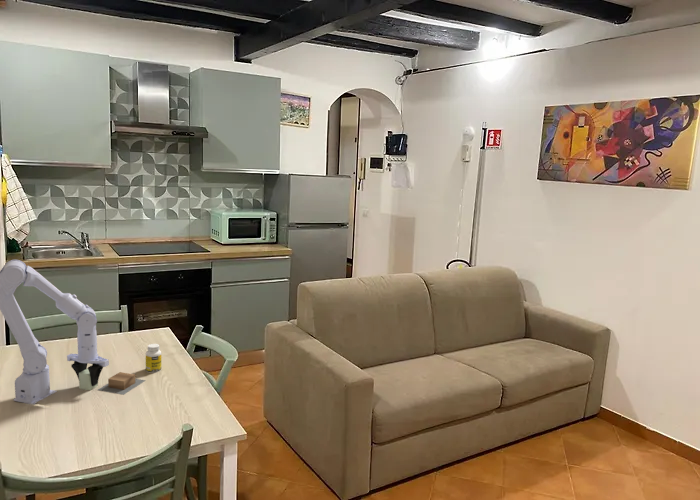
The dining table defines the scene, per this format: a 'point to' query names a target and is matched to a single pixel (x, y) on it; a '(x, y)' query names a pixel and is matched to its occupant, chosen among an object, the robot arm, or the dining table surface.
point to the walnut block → (121, 380)
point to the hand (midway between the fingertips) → (88, 383)
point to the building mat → (119, 391)
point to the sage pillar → (85, 380)
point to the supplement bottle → (153, 358)
